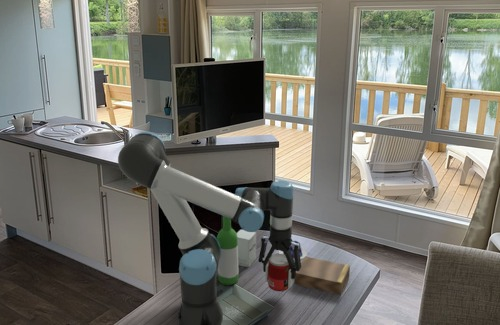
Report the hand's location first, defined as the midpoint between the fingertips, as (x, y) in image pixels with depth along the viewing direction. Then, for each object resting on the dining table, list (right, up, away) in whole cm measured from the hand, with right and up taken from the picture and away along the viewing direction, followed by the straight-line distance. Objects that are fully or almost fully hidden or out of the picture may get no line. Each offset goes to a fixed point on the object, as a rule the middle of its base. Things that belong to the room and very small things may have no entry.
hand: (278, 282), depth 169 cm
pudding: (+8, +4, +31) cm, 32 cm away
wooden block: (+17, -2, +11) cm, 21 cm away
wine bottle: (-19, -2, +12) cm, 22 cm away
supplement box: (-12, +2, +25) cm, 28 cm away
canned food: (0, -1, 0) cm, 2 cm away
